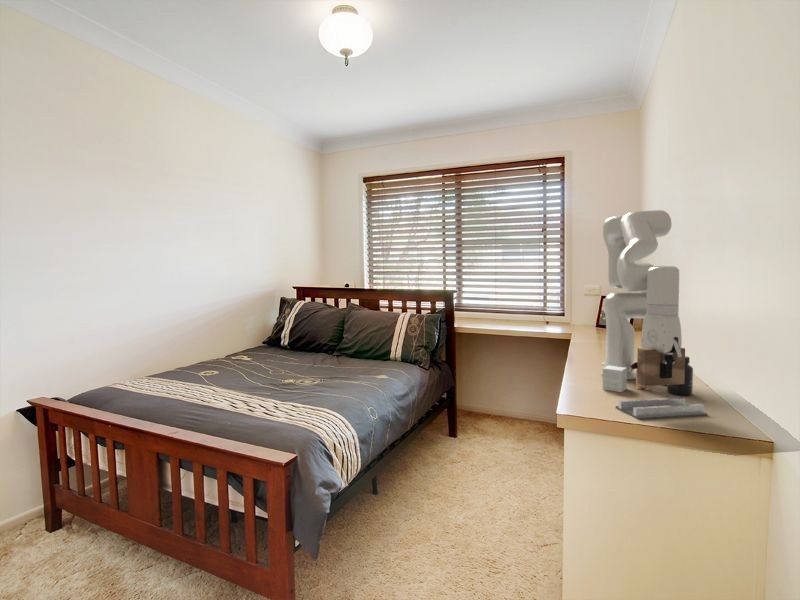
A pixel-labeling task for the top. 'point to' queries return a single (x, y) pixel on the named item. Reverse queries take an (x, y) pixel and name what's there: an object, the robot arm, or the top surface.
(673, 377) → the walnut door panel
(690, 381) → the supplement bottle
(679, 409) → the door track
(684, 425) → the top surface
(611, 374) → the product box
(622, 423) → the top surface
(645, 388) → the grandmother figurine
